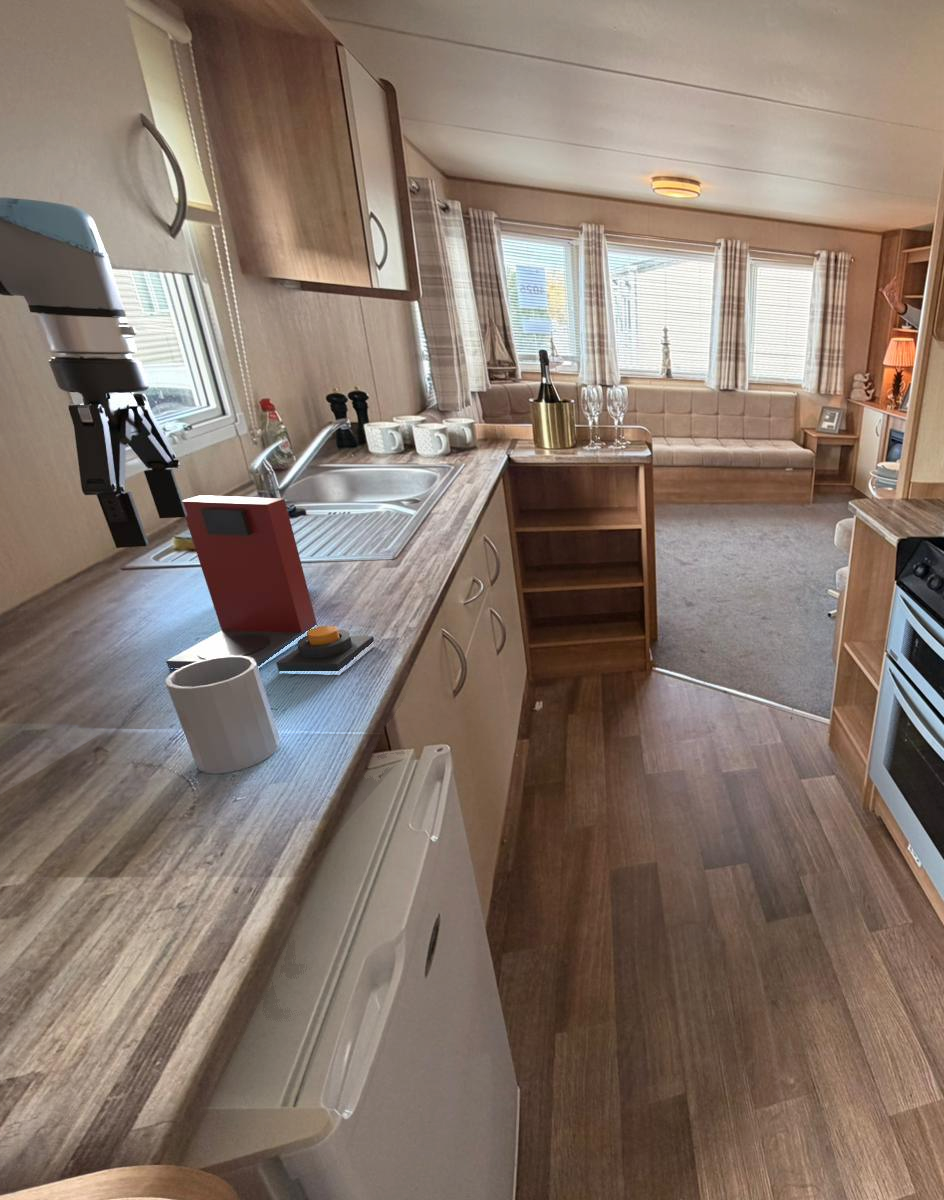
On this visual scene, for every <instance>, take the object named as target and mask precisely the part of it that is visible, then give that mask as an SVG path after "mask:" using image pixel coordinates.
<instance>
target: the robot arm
mask: <svg viewBox="0 0 944 1200" xmlns="http://www.w3.org/2000/svg"><path fill="white" fill-rule="evenodd" d="M0 295H1V296H6V297H14V296H19V297H24V300H25V301H26V303H27V305H28V309H29V312H30V317H31V319H32V322H33V324H34V327H35V330H36V333H37V335H38V338H39V341H40V344H41V346H42V347H41V348H42V349H43V350H44V351H45V352H47V353H52V355H53V356H50V359H48V363H49V366H50V369H51V371H52V374H53V377H54V380H55V383H56V385H57V387H58V388H59V389H60V390H62V392H63V391H64V392H67V393H78V394H79V395H81V397H82V403H80V404H79V403H70V404H68V406H67V407H68V408H67V409H68V412H69V415H70V418H71V421H72V424H73V430H74V431H73V432H74V438H75V446H76V455H77V462H78V470H79V471H78V473H79V479H80V480H79V481H80V487H81V491H82V494H84V495H85V496H96V497H97V500H98V503H99V504H100V508H101V511H102V513H103V516H104V519H105V521H106V524H107V526H108V529H109V532H110V535H111V537H112V540H113V543H114V545H115V548H116V549H122V548H140V547H147V546H149V545H150V543H149V540H148V537H147V533H146V532H145V529H144V525H143V523H142V520H141V517H140V514H139V511H138V508H137V505H136V502H135V500H134V497H133V493H132V491H126V446H127V445H128V446H129V447H130V449H131V450H132V451H133V452H134V454H135V455H136V456H137V458H138V459H139V460H140V461H141V462H142V464H143V465H144V466H145V467H146V468H147V469H145V470H143V474H144V477H145V479H146V482H147V485H148V488H149V491H150V494H151V497H152V500H153V502H154V506H155V509H156V511H157V514H158V517H159V519H174V518H175V519H176V518H185V517H186V516H187V513H186V510H185V506H184V503H183V500H184V499H183V497H182V495H181V491H180V489H179V484H178V481H177V479H176V475H175V473H174V469H180V468H181V461H180V459H177V455H176V453H175V451H174V450H173V448H172V446H171V444H170V442H169V440H168V439H167V437H166V435H165V433H164V431H163V430H162V427H161V425H160V424H159V422H158V420H157V418H156V417H155V415H154V412H153V411H152V408H151V406H150V403H149V400H148V397H147V396H146V394H145V393H139V392H144V391H147V390H149V388H150V385H149V382H148V379H147V375H146V373H145V370H144V367H143V363H142V360H139V359H138V358H136V357H133V356H132V355H133V354H136V353H137V352H138V350H137V349H138V348H137V347H136V343H135V340H134V337H133V336H136V335H137V334H138V332H137V329H136V328H135V327H133V326H129V321H128V319H127V314H126V311H124V310H125V308H124V305H123V302H122V298H121V295H120V292H119V288H118V285H117V281H116V278H115V275H114V271H113V268H112V265H111V261H110V257H109V254H108V253H107V252H106V249H105V246H104V243H103V241H102V238H101V236H100V233H99V231H98V228H97V225H96V222H95V220H94V219H93V217H92V216H91V215H90V214H89V213H87V212H86V211H84V210H82V209H80V208H78V207H76V206H72V205H68V204H63V203H58V202H51V201H44V200H38V199H37V200H36V199H28V198H27V199H26V198H15V197H5V196H3V197H2V196H1V197H0Z"/></svg>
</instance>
